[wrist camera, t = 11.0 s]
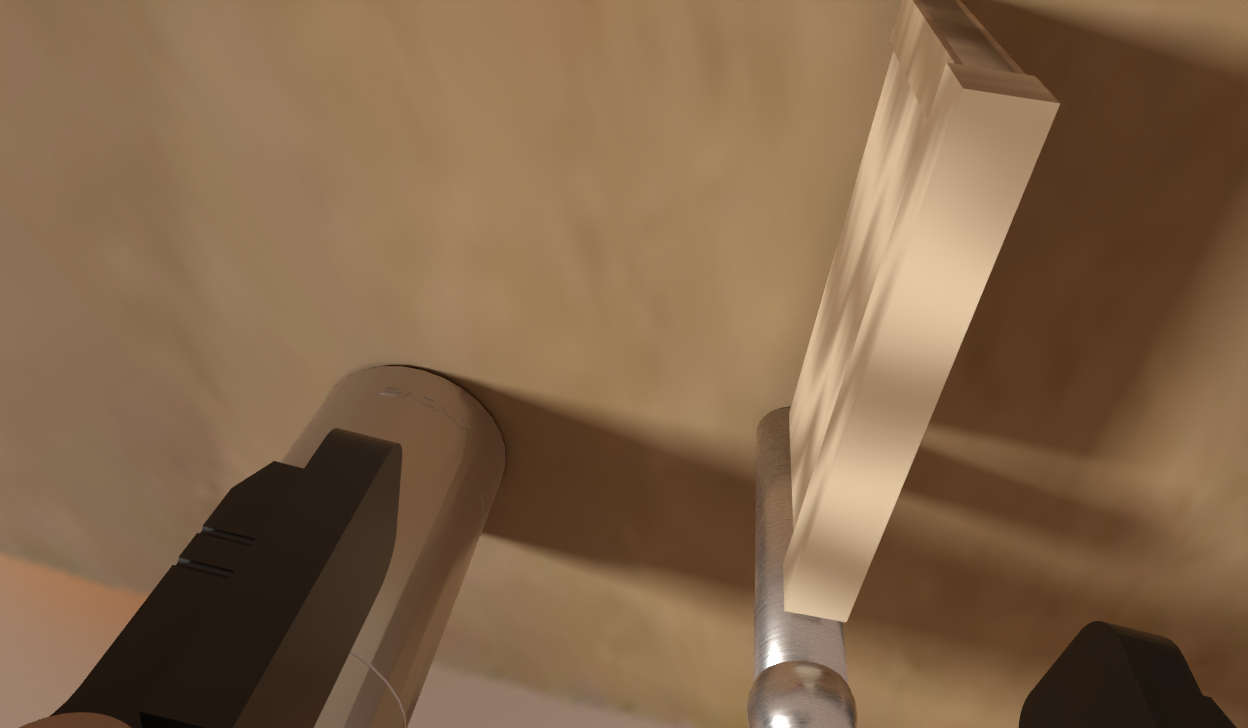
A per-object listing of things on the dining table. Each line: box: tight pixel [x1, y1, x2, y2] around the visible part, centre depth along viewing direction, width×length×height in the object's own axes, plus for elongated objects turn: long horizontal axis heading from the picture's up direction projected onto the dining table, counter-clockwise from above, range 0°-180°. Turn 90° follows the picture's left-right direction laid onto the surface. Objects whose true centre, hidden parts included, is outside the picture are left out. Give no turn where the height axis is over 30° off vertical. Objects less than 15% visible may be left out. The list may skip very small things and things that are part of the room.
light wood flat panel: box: [783, 0, 1060, 622], centre depth 27 cm, size 17×2×10 cm, turn 173°
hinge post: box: [747, 407, 857, 728], centre depth 32 cm, size 3×3×16 cm
